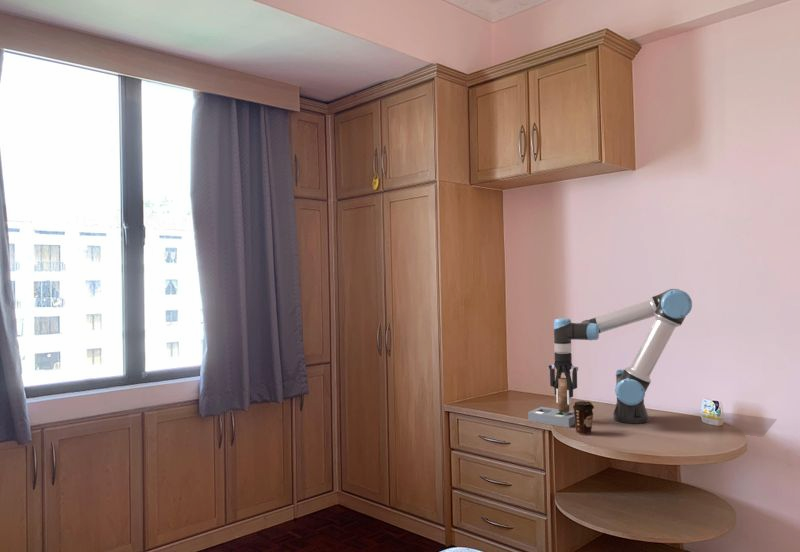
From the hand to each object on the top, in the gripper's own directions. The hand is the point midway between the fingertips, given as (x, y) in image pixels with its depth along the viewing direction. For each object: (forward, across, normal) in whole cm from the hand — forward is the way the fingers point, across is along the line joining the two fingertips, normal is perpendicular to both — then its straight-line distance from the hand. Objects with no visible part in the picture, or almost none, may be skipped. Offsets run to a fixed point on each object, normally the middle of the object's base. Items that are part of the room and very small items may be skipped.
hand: (563, 403), depth 264 cm
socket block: (+9, +5, 0) cm, 10 cm away
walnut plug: (+4, 0, 0) cm, 4 cm away
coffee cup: (+9, -14, +11) cm, 20 cm away
